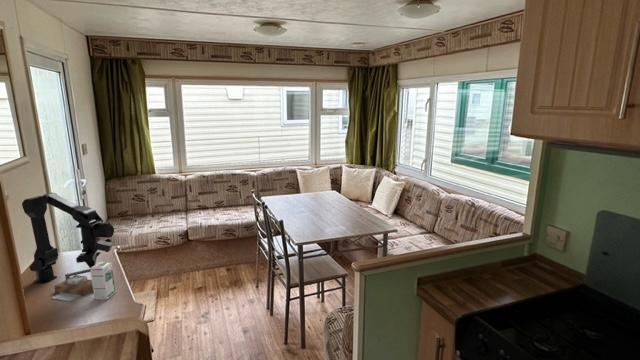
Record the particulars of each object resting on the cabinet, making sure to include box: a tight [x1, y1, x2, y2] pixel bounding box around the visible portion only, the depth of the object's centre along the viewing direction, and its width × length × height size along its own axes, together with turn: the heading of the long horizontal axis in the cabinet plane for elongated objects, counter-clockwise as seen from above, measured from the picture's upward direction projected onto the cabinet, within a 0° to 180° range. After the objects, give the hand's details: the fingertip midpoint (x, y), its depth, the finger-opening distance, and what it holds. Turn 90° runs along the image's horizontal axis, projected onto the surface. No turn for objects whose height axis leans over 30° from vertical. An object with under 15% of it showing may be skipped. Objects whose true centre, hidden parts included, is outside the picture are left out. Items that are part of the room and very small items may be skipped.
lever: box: [64, 268, 91, 282], centre depth 157 cm, size 12×2×5 cm, turn 127°
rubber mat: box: [51, 292, 82, 303], centre depth 147 cm, size 10×5×1 cm, turn 77°
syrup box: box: [89, 261, 116, 301], centre depth 147 cm, size 6×6×14 cm
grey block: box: [67, 274, 88, 287], centre depth 153 cm, size 6×4×2 cm
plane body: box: [53, 279, 94, 297], centre depth 154 cm, size 16×8×3 cm, turn 77°
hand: (93, 269), depth 158 cm, fingers closed
